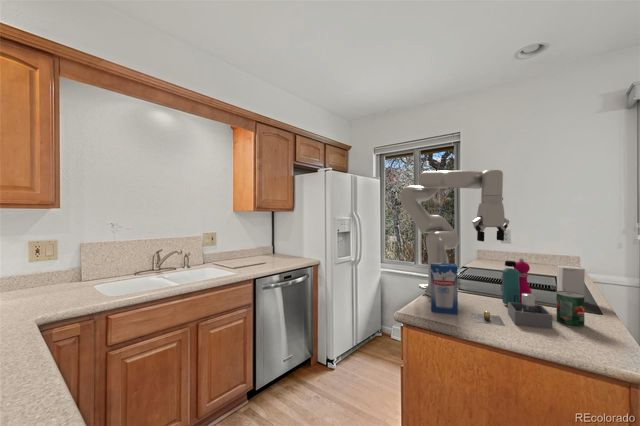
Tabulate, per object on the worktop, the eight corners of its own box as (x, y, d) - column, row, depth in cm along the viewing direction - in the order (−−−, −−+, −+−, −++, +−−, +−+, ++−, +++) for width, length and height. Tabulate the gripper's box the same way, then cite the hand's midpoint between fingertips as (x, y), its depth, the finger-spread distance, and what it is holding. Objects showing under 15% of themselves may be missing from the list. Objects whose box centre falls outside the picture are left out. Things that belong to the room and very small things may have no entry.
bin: (514, 326, 103) (514, 311, 103) (507, 316, 114) (507, 302, 114) (552, 331, 99) (552, 315, 99) (541, 319, 109) (541, 305, 109)
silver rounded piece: (516, 319, 108) (516, 293, 108) (527, 318, 110) (527, 292, 109) (529, 325, 103) (529, 297, 103) (541, 323, 104) (541, 296, 104)
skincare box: (561, 301, 130) (561, 267, 129) (556, 297, 136) (556, 264, 136) (585, 303, 127) (585, 268, 126) (578, 299, 133) (578, 266, 132)
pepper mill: (525, 299, 133) (525, 257, 133) (535, 305, 126) (535, 259, 126) (508, 299, 134) (508, 257, 134) (518, 304, 127) (517, 259, 126)
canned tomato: (587, 329, 100) (587, 298, 100) (558, 325, 104) (558, 295, 104) (581, 321, 107) (581, 292, 107) (554, 317, 111) (554, 289, 111)
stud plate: (473, 324, 106) (473, 314, 106) (470, 314, 116) (470, 305, 116) (505, 328, 102) (505, 317, 102) (499, 318, 112) (499, 308, 112)
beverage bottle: (514, 310, 119) (514, 263, 119) (498, 306, 125) (498, 260, 125) (523, 308, 122) (523, 261, 122) (507, 303, 128) (507, 259, 128)
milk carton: (431, 313, 117) (430, 265, 117) (430, 308, 123) (430, 262, 123) (458, 316, 114) (457, 266, 114) (456, 311, 120) (456, 263, 119)
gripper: (501, 200, 125) (500, 239, 125) (467, 199, 121) (466, 240, 122) (516, 200, 117) (515, 241, 118) (480, 199, 114) (479, 242, 114)
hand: (490, 240), depth 120 cm, fingers open, 9 cm apart
